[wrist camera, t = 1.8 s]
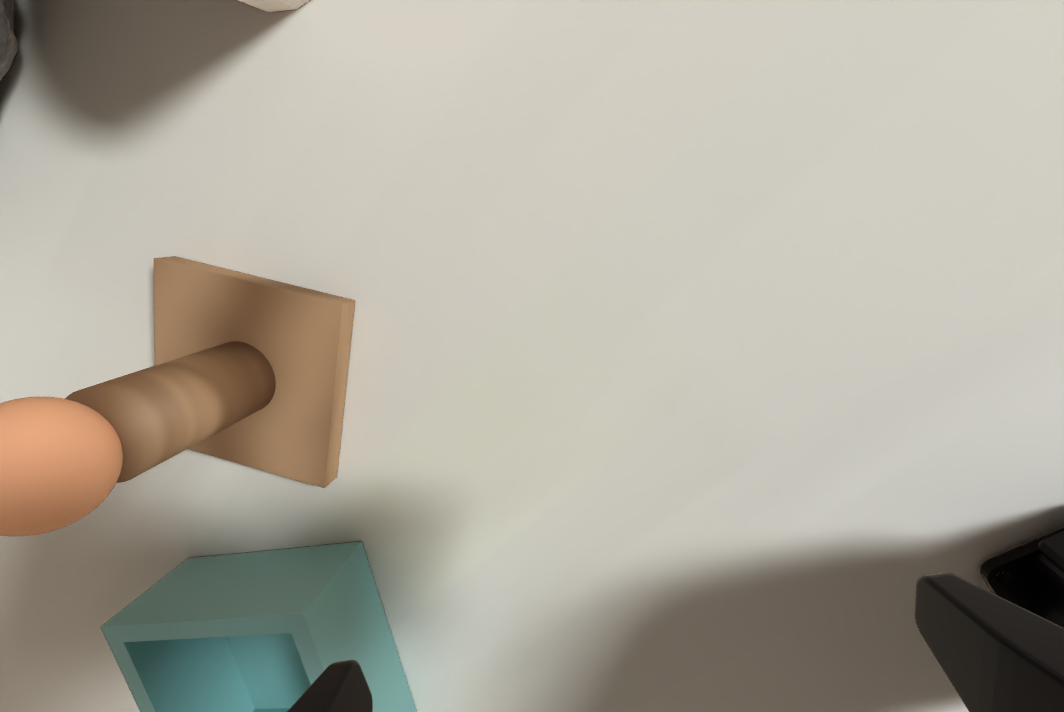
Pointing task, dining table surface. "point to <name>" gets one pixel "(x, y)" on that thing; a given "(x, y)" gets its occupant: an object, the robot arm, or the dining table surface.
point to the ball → (53, 463)
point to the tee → (235, 375)
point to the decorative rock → (7, 36)
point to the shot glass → (275, 4)
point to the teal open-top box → (256, 632)
